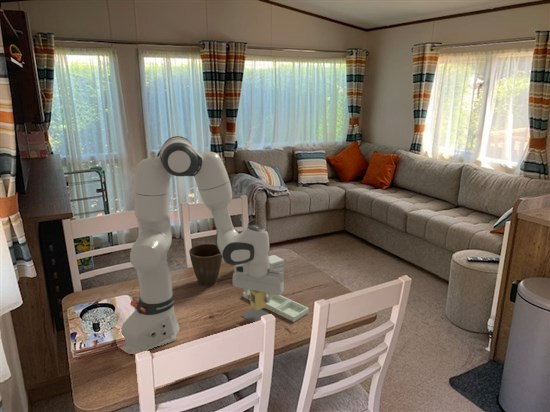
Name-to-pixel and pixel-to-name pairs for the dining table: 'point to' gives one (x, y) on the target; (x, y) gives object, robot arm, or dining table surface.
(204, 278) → the plant pot
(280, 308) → the tray right
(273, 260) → the supplement box
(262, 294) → the letter block
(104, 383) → the dining table surface
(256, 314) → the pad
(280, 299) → the tray middle
